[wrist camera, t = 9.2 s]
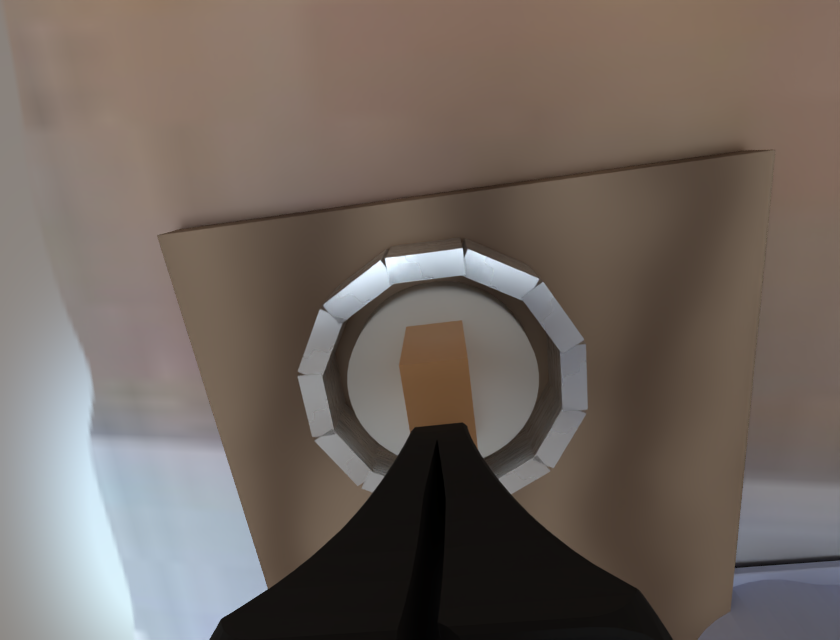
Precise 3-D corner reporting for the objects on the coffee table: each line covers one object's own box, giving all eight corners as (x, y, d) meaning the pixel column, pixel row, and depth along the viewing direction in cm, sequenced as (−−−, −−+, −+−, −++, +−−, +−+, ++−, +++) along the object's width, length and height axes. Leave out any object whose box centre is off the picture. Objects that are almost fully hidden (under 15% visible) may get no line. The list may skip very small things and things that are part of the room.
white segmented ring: (565, 223, 15) (583, 232, 13) (574, 461, 18) (589, 496, 16) (291, 259, 16) (272, 272, 14) (342, 482, 19) (331, 518, 17)
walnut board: (745, 150, 16) (775, 149, 14) (708, 613, 22) (727, 644, 21) (179, 229, 17) (157, 235, 16) (302, 640, 24) (293, 670, 23)
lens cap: (524, 269, 16) (556, 311, 12) (535, 433, 18) (565, 518, 14) (339, 293, 16) (305, 340, 12) (370, 449, 18) (350, 536, 14)
